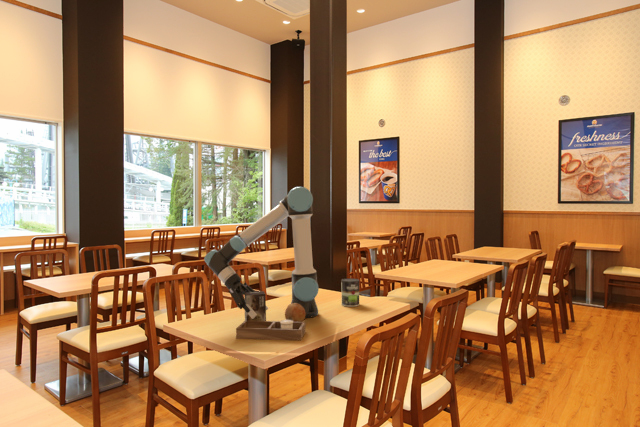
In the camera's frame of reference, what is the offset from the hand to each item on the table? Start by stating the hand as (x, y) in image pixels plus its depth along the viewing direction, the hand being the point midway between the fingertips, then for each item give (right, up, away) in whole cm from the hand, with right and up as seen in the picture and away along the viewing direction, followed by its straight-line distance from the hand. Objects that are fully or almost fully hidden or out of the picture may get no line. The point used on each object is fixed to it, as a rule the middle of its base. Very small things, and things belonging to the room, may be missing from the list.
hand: (260, 313), depth 186 cm
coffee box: (-3, -7, +1) cm, 8 cm away
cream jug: (+13, -6, -13) cm, 19 cm away
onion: (+15, -7, +7) cm, 18 cm away
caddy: (+6, -7, -12) cm, 15 cm away
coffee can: (+44, -6, +46) cm, 64 cm away
